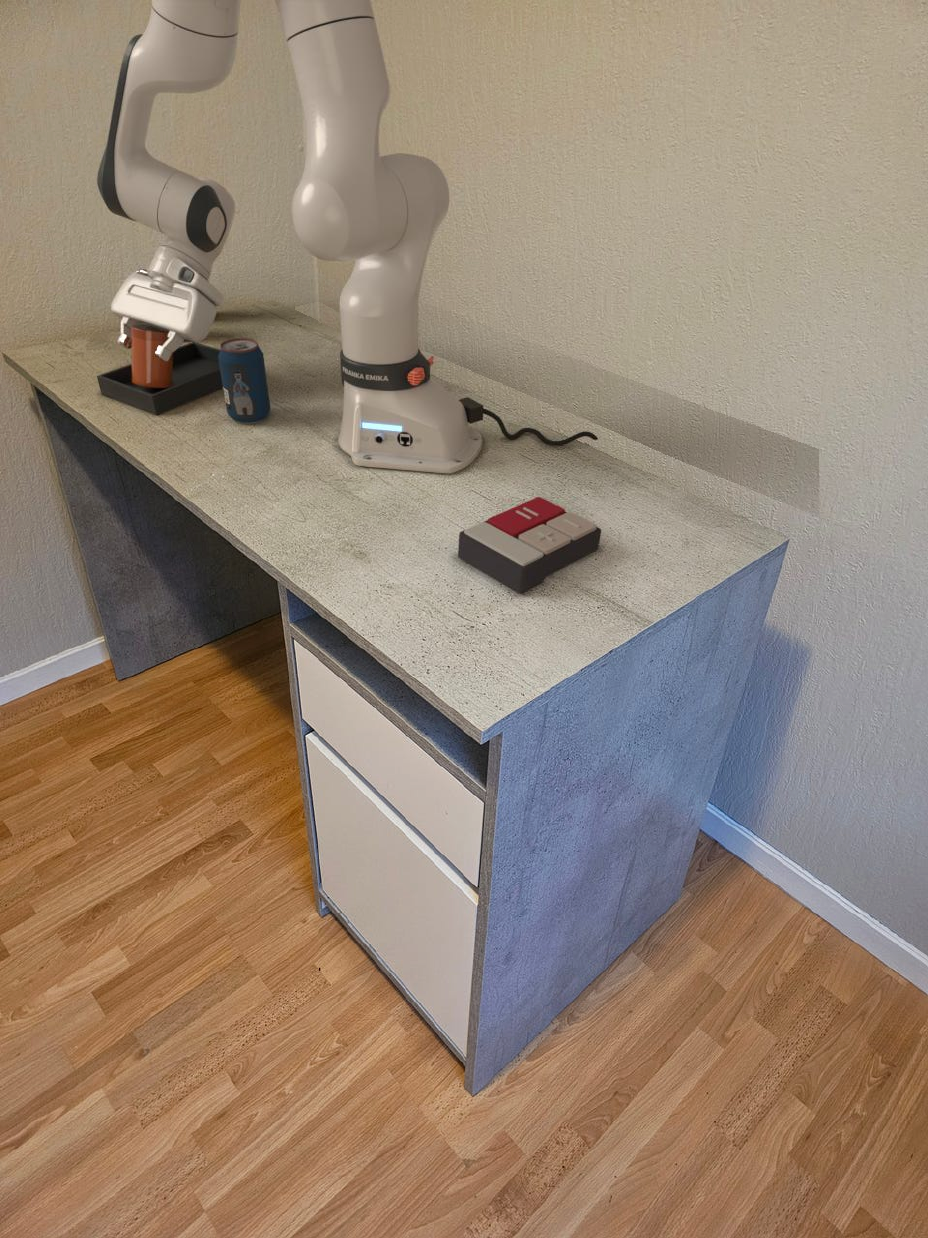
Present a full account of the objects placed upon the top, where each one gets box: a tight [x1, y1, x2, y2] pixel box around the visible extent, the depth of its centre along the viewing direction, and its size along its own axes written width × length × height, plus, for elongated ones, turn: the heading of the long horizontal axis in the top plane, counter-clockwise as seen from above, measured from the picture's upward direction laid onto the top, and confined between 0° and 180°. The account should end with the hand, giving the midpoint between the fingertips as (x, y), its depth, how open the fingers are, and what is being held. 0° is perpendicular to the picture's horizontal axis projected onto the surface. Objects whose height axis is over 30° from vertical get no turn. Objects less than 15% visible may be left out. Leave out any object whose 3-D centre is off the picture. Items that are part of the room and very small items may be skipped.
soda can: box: [218, 337, 271, 425], centre depth 130 cm, size 7×7×12 cm
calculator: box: [457, 496, 602, 594], centre depth 103 cm, size 11×4×15 cm
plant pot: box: [131, 325, 173, 388], centre depth 137 cm, size 7×7×9 cm
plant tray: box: [96, 341, 223, 416], centre depth 143 cm, size 21×14×3 cm
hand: (141, 352), depth 135 cm, fingers open, 8 cm apart
